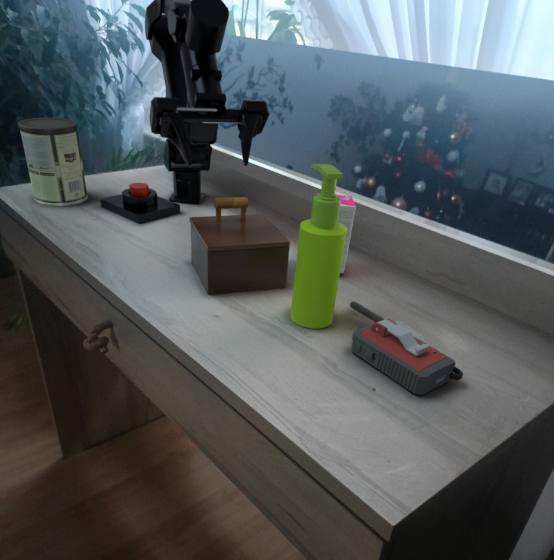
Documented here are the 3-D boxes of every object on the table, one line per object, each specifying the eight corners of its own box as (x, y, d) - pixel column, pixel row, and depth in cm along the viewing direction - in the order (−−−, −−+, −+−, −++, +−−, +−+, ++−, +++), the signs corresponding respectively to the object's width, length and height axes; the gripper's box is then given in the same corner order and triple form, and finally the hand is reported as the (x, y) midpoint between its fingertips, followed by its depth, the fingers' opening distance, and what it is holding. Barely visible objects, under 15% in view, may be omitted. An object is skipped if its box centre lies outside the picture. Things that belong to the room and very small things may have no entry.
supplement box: (344, 276, 83) (356, 206, 77) (308, 273, 83) (317, 203, 77) (341, 262, 88) (352, 194, 82) (307, 259, 88) (315, 191, 81)
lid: (189, 221, 80) (188, 195, 78) (263, 217, 84) (265, 192, 81) (207, 251, 71) (207, 222, 69) (289, 246, 75) (292, 218, 72)
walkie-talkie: (471, 379, 62) (354, 309, 74) (482, 349, 60) (359, 282, 72) (425, 404, 57) (309, 325, 70) (435, 372, 55) (312, 296, 67)
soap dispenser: (320, 302, 75) (340, 160, 64) (339, 326, 70) (364, 175, 59) (282, 306, 74) (295, 160, 62) (299, 330, 68) (317, 176, 57)
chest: (191, 263, 83) (190, 223, 79) (262, 258, 87) (265, 219, 83) (207, 295, 75) (207, 252, 71) (285, 287, 79) (289, 246, 75)
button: (141, 190, 102) (140, 181, 101) (152, 195, 100) (152, 186, 99) (126, 193, 99) (125, 184, 98) (137, 198, 98) (137, 189, 97)
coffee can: (48, 188, 108) (35, 115, 100) (96, 193, 108) (86, 120, 99) (23, 203, 100) (6, 124, 91) (74, 209, 99) (62, 130, 91)
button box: (142, 197, 108) (140, 180, 106) (180, 213, 102) (179, 195, 100) (100, 207, 101) (98, 189, 99) (139, 224, 95) (137, 205, 93)
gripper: (245, 109, 94) (260, 188, 93) (142, 107, 89) (156, 192, 87) (261, 65, 84) (279, 153, 82) (145, 59, 78) (161, 154, 76)
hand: (218, 165), depth 82 cm, fingers open, 9 cm apart
